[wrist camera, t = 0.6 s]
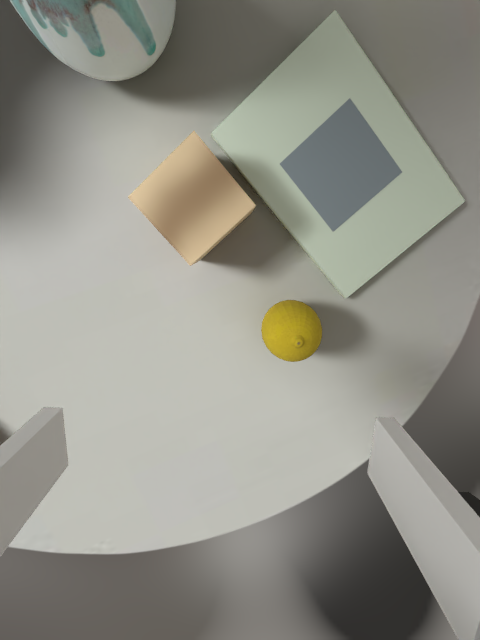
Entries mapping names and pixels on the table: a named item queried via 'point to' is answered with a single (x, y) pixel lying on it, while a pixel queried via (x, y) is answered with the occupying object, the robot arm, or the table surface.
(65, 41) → the vase
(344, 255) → the board
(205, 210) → the oak cube
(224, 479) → the table surface
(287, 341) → the lemon
